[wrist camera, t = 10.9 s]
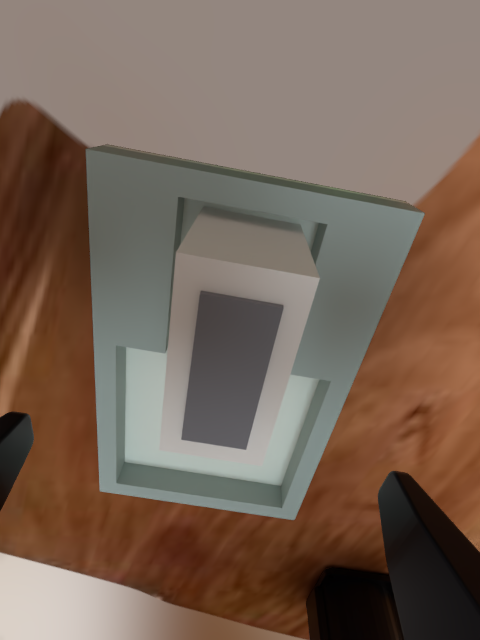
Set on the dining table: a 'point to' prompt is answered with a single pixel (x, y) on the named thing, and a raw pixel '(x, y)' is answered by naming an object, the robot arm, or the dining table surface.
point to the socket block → (234, 333)
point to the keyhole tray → (155, 310)
